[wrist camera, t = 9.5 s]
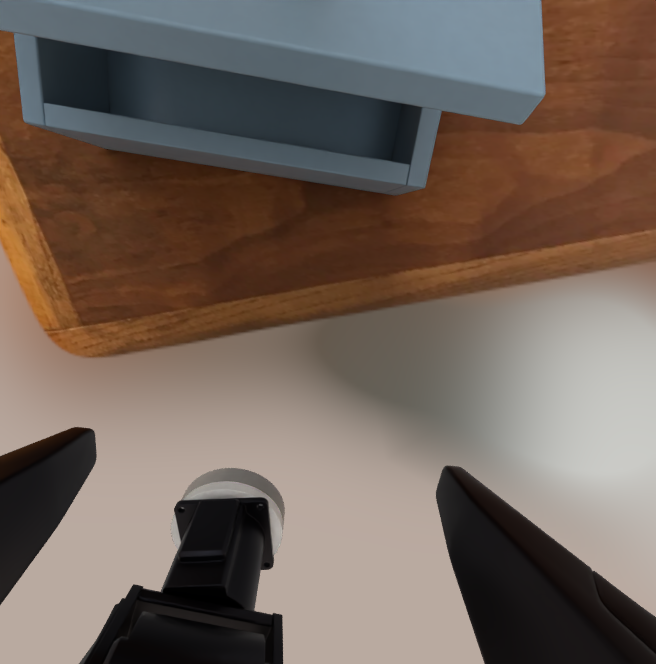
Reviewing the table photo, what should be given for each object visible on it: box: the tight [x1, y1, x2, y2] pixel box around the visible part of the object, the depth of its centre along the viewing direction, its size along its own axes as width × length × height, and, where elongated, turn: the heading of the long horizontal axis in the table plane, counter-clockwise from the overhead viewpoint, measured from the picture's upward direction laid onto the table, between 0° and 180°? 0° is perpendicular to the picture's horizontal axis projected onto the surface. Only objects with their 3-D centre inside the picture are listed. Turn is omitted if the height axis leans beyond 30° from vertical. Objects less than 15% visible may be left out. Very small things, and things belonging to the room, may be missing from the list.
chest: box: [14, 33, 442, 196], centre depth 14 cm, size 12×16×5 cm
